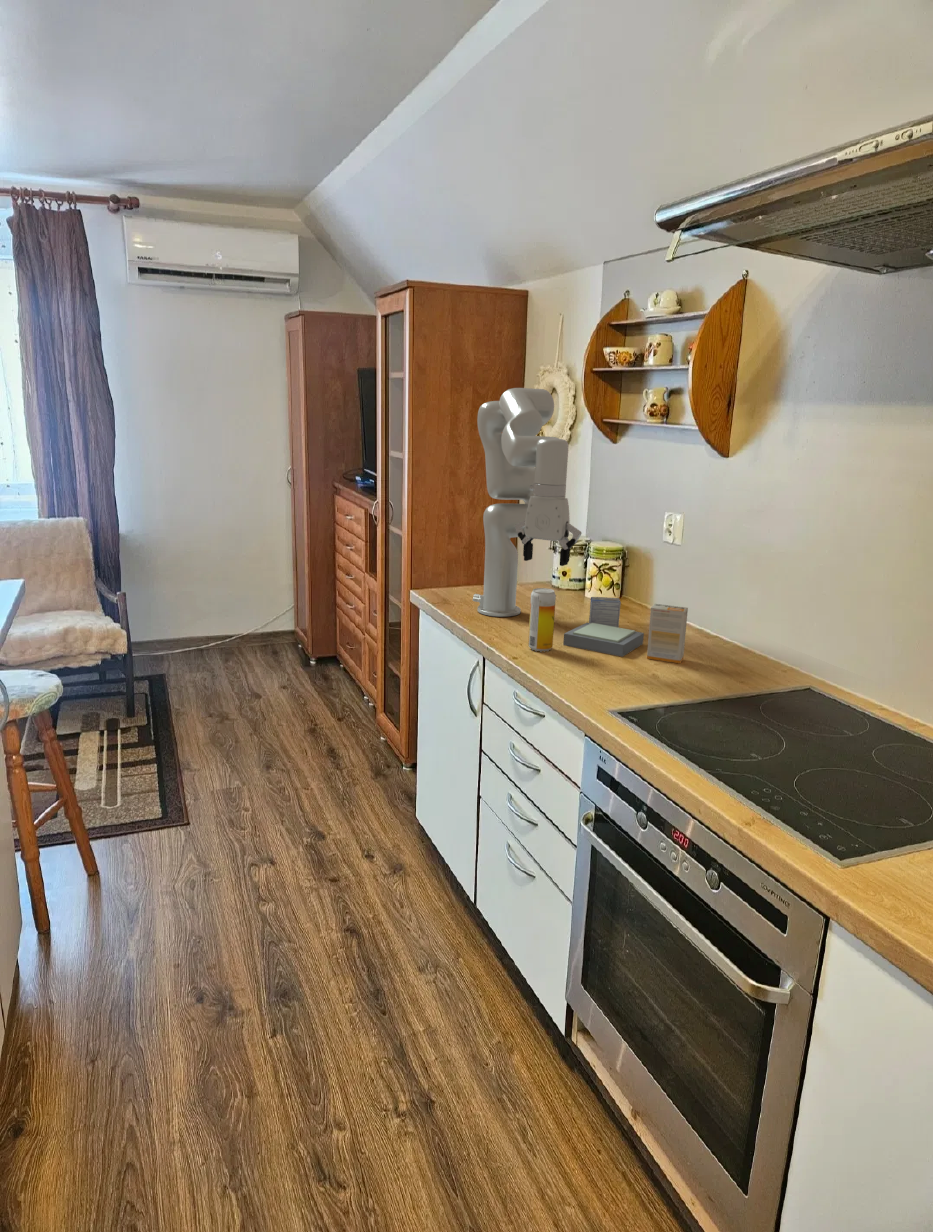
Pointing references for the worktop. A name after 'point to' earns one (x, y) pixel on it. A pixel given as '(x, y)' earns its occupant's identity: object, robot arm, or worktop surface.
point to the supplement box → (667, 633)
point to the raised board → (603, 639)
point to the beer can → (541, 619)
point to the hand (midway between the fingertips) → (545, 562)
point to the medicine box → (605, 611)
